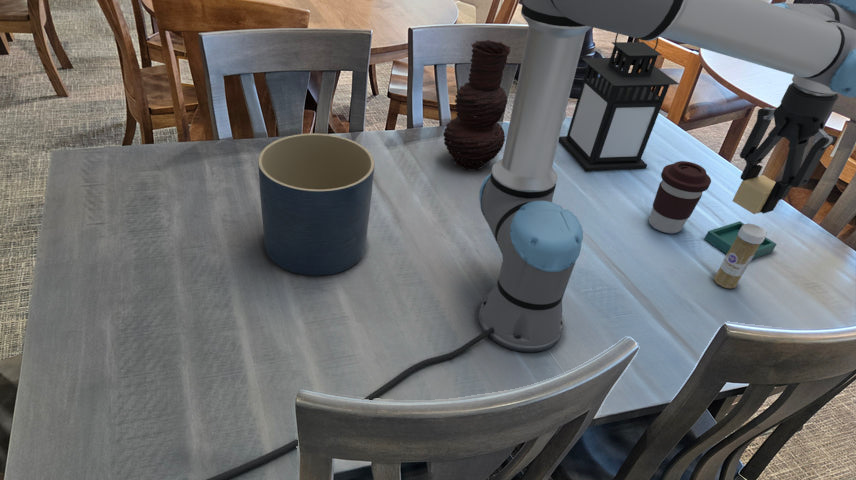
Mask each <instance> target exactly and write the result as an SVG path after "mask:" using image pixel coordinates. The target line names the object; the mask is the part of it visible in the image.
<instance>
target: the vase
mask: <svg viewBox="0 0 856 480" xmlns="http://www.w3.org/2000/svg"><path fill="white" fill-rule="evenodd" d="M470 46H471V48H472V49H471V52H472V54H471V59H470V62H471V64H470V69H469V71H470V73H468V76H469V77H468V81H469V82H465V83H464V85H461V86H459V89H458V90H456V95H455V98H456V99H454V103H455V104H454V108H455V112H456V116H455V118H453V119H450V120H449V122H447V123H446V124H445V127H446V128H444V131H443V134H442V135H443V137H444V138H443V142H444V146H445V147H446V150H447V151H448V154H449V155H451V158H452V160H453V162H454V163H455V164H456V166H457V167H460V168H462V169H464V170H473V171H475V170H479V169H481V168H483V167H485V165H486V164H487V163H489V162H490V161H492V160H493V159H495V157H497V155H498V154H499V153H500V152H501V151H502V149H503V147H504V144H505V142H506V135H505V131H504V128H503V126H501V124H500V123H499V122H500V120H501V119H502V118H503V115H504V113H505V111H506V106H507V104H508V97H507V94H506V91H505V90H504V89H503V87H502V86H501V84H502V80H503V77H504V76H503V75H504V74H503V73H504V70H505V68H506V65H507V60H508V56H509V55H510V53H511V46H508V45H506V44H504V43H503V42H502V41H501V42H500V41H499V42H498V41H493V40H489V39H487V40H476V41H475V42H474V43H471V45H470Z"/></svg>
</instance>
